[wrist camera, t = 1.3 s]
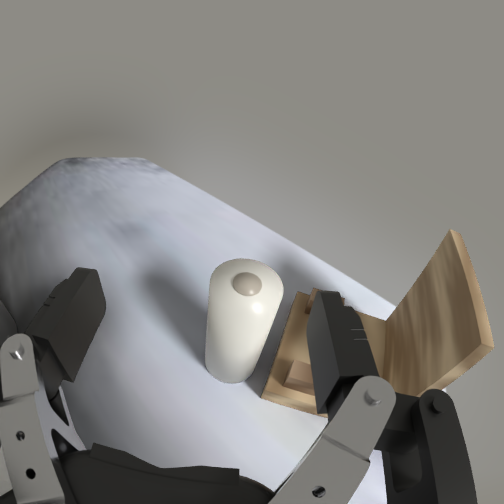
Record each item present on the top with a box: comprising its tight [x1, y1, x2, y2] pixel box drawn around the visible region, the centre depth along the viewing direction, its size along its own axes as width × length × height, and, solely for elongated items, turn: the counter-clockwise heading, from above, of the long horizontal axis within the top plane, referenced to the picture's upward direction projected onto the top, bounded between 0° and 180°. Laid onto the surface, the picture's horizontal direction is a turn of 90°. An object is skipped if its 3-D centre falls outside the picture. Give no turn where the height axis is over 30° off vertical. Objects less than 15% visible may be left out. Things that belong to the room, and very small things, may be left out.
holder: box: [261, 229, 494, 418], centre depth 26 cm, size 14×14×18 cm
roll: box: [205, 259, 284, 384], centre depth 27 cm, size 6×6×13 cm
